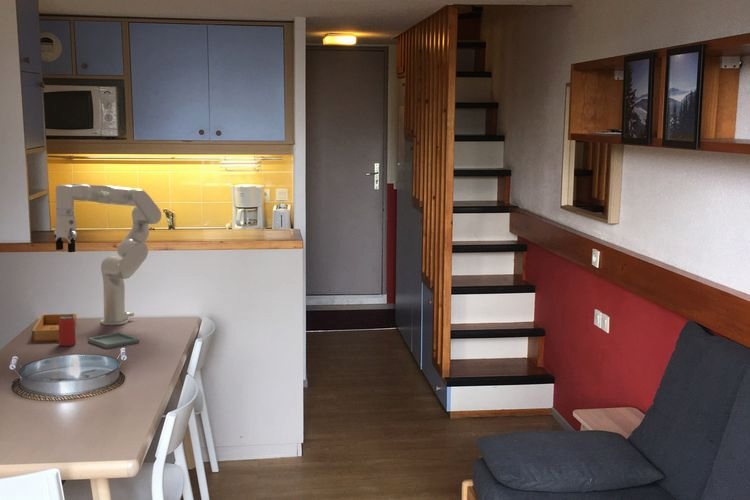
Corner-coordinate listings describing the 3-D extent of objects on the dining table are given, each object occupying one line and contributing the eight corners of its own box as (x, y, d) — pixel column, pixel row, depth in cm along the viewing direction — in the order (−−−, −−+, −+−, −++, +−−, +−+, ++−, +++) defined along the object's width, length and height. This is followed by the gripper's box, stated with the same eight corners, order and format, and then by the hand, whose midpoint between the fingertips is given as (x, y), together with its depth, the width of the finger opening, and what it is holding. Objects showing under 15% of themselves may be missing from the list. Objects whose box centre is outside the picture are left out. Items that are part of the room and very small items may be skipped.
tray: (69, 341, 353) (69, 328, 353) (32, 342, 349) (31, 329, 349) (76, 325, 383) (76, 313, 382) (42, 326, 379) (41, 314, 378)
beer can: (78, 343, 349) (77, 315, 347) (71, 347, 342) (70, 319, 341) (63, 342, 349) (62, 315, 348) (56, 346, 343) (55, 318, 341)
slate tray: (119, 336, 362) (119, 332, 362) (138, 342, 353) (138, 338, 353) (88, 342, 351) (88, 338, 351) (107, 348, 341) (107, 344, 341)
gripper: (83, 213, 360) (84, 252, 362) (62, 210, 371) (62, 248, 373) (67, 214, 354) (68, 253, 357) (46, 211, 365) (47, 249, 367)
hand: (65, 250), depth 365 cm, fingers open, 9 cm apart
